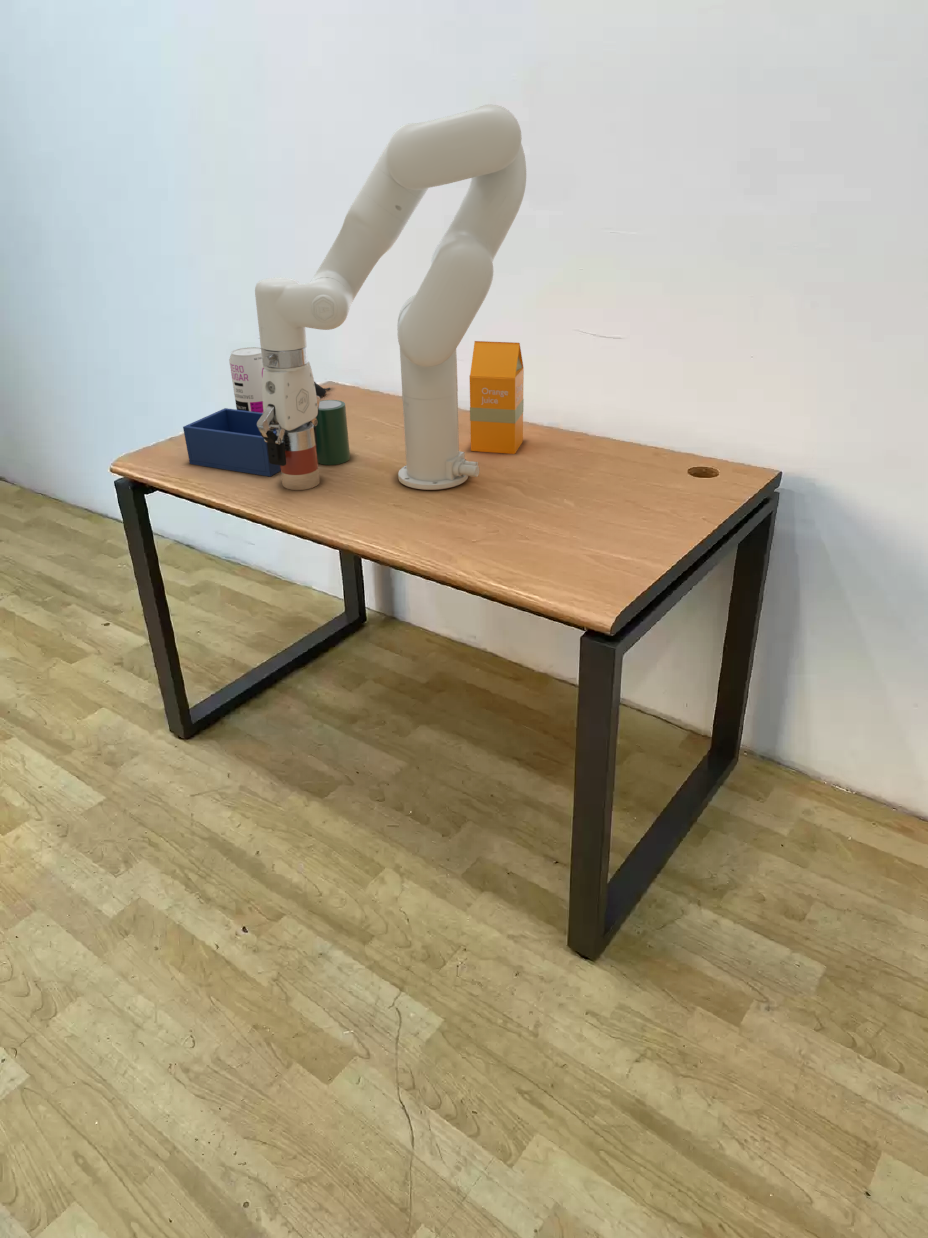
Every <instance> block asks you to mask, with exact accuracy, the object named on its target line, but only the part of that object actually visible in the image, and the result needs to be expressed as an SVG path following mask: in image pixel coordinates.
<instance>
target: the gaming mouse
mask: <svg viewBox="0 0 928 1238" xmlns="http://www.w3.org/2000/svg"><path fill="white" fill-rule="evenodd" d="M314 383H315V390H316V395H317V396H319V397H320V398H321V397H324V396H325V394H326V393H327V391H329V390H331V387H327V388H326V387H324V388H323V387H322V386H321V385H319V384H318V383H316V381H314Z"/></svg>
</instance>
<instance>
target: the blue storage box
mask: <svg viewBox="0 0 928 1238" xmlns="http://www.w3.org/2000/svg"><path fill="white" fill-rule="evenodd" d="M262 414H263V413H259V412H251V411H244V410H237V408H236V409H234V408H228V407H224V408H222V409H219V410H218V411H215V412H213V413H211V414H208V415H206V416H204V417H202V418H200V419H197V420H195V421H193V422H191V423H188V424H186V425H184V426H182V429H183V434H184V440H185V446H186V451H187V456H188V463H189V465H194V466H200V467H206V468H213V469H220V470H227V471H233V472H239V473H245V474H251V475H258V476H263V477H269V478H270V477H272V476H274V475H276V474H278V473H279V472H281V469H280V465H275V464H270V463H269V456H268V447H267V442H265V441H264V438H263V437H262V436H261V432H260V431H259V429H258V427H257V422H258V420H259V419H260V417H261V416H262ZM273 433H274V434H275V435H276V430H275V429H274V431H273Z"/></svg>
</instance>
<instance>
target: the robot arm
mask: <svg viewBox="0 0 928 1238" xmlns="http://www.w3.org/2000/svg"><path fill="white" fill-rule="evenodd" d="M469 179H470V183H469V185H468V189H467V191H466V192H465V194H464V197H463V198H462V200H461V203H460V204H459V207H458V209H457V210H456V212H455V215H454V217H453V218H452V221H451V222H450V224H449V226H448V227H447V229H446V231H445V233H444V235H443V236H442V237H441V239H440V241H439V242H438V244H437V245H436V247H434V250H433V252H432V255H431V260H430V266H429V269H428V271H427V272H426V274H425V277H424V279H423V280H422V282H421V284H420V286H419V288H418V290H417V291H416V293H415V294H414V295H412V296H411V297H409V298H408V299H407V300H406V301H405V302H404V303H403V305H402V306H401V308H400V310H399V313H398V317H397V340H398V341H397V342H398V345H399V359H400V360H399V361H400V375H401V377H400V378H401V396H402V397H401V398H402V413H403V414H402V415H403V430H404V431H403V432H404V433H403V434H404V448H405V465H404V466H402V467H401V468H400V469H399V470H398V473H397V477H398V481H399V483H401V484H402V485H404V486H405V487H408V488H412V489H416V490H425V491H426V490H427V491H435V490H446V489H451V488H454V487H457V486H460V485H462V484H463V483H465V482H466V481H467V480H468V478H469V477H472V478H478V476H479V475H480V466H479V462H478V461H473V460H471V461H469V460H467V459H466V456H465V455H466V454H465V451H462V450H461V451H460V434H459V433H460V432H459V431H460V430H459V427H460V426H459V397H458V396H459V395H458V392H459V390H458V389H459V388H458V385H459V383H458V360H457V359H458V358H457V348H458V347H459V345H460V343H461V342H462V340H463V338H464V337H465V335H466V333H467V331H468V329H470V326H471V324H472V323H473V320H474V319H475V317H476V316H477V314H478V312H479V310H480V308H481V307H482V305H483V303H484V301H485V300H486V297H487V295H488V293H489V291H490V289H491V287H492V283H493V280H494V263H493V262H494V260H495V258H496V256H497V253H498V252H499V250H500V249H501V246H502V245H503V242H504V241H505V239H506V237H507V235H508V233H509V231H510V229H511V227H512V225H513V223H514V221H515V219H516V217H517V215H518V213H519V211H520V208H521V205H522V202H523V200H524V196H525V191H526V186H527V162H526V155H525V150H524V148H523V144H522V130H521V125H520V123H519V121H518V119H517V118H516V117H515V115H514V114H513V113H512V112H511V111H510V110H509V109H507V108H506V107H504V106H502V105H497V104H484V105H483V104H482V105H479V106H478V107H476V108H474V109H470V110H465V111H463V112H459V113H455V114H451V115H447V116H443V117H440V118H436V119H435V118H434V119H432V120H431V119H430V120H427V121H421V122H411V123H406V124H402V126H399V127H398V128H397V129H396V130H395V131H394V132H393V134H392V135H391V137H390V138H389V139H388V141H387V143H386V145H385V147H384V149H383V150H382V152H381V154H380V156H378V158H377V159H376V162H375V164H374V166H373V167H372V169H371V171H370V172H369V174H368V176H367V177H366V179H365V181H364V183H363V185H362V186H361V188H360V190H359V191H358V193H357V194H356V196H355V198H354V199H353V202H352V203H351V205H350V207H349V209H348V211H347V212H346V214H345V216H344V220H343V223H342V226H341V228H340V230H339V232H338V234H337V235H336V238H335V240H334V241H333V243H332V244H331V247H330V249H329V250H328V252H327V253H326V255H325V256H324V259H323V260H322V262H321V264H320V265H319V267H318V269H317V270H316V272H315V274H314V275H313V277H312V279H311V280H310V282H306V283H300V282H299V281H298V280H297V279H294V278H290V277H269V278H263V279H261V280H259V281H258V282H257V283H256V284H255V286H254V297H255V305H256V313H257V314H256V316H257V323H258V333H259V334H258V335H259V343H260V344H259V345H260V348H261V354H262V363H263V368H264V369H263V377H262V397H263V411H264V413H263V414H262V416H261V417H260V419H259V420H258V422H257V427H258V429H259V431H260V432H261V436H262V437H263V438H264V441H265V442H267V447H268V456H269V463H270V464H275V465H280V466H284V465H286V455H285V445H284V443H282V439H283V436H284V433H285V430H288V431H290V430H293V429H295V428H298V427H300V426H302V425H304V424H306V423H308V422H311V423H313V425H314V433H315V442H316V448H317V434H316V427H315V426H316V425H317V423H318V421H317V416H318V413H319V409H318V408H319V403H320V401H321V397H319V396H317V395H316V390H315V383H314V382H315V379H314V374H313V370H312V366H311V363H310V361H309V358H308V345H307V333H306V328H309V329H315V330H320V331H330V330H334V329H337V328H339V327H340V326H342V325H343V324H344V322H345V321H346V320H347V318H348V315H349V312H350V309H351V306H352V304H353V302H354V300H355V298H356V297H357V295H358V293H359V292H360V291H361V288H362V286H363V285H364V283H365V282H366V280H367V278H368V277H369V275H370V274H371V273H372V270H373V269H374V267H375V266H376V265H377V263H378V262H379V261H380V259H381V258H382V257H383V256H384V255H385V254H386V253H388V251H389V250H391V249H392V248H393V246H394V245H395V243H396V242H397V240H398V239H399V237H400V236H401V234H402V233H403V230H404V229H405V227H406V226H407V224H408V222H409V221H410V219H411V218H412V216H413V214H414V212H415V211H416V210H417V207H418V206H419V204H420V202H421V201H422V200H423V198H424V197H425V195H426V193H427V191H428V190H429V189H431V188H434V187H440V186H445V185H449V184H453V183H457V182H461V181H465V180H469ZM279 424H280V425H279ZM274 429H275V430H278V432H277V435H275V434H274V433H273V431H274Z"/></svg>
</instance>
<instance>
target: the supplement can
mask: <svg viewBox="0 0 928 1238" xmlns="http://www.w3.org/2000/svg"><path fill="white" fill-rule="evenodd" d="M230 353H231V354H230V357H229V359H228V361H229V369H230V374H231V380H232V388H233V395H234V400H235V407H236V410H244V411H251V412H259V413H264V411H263V397H262V377H263V369H264V368H263V363H262V354H261V347H260V346H259V347H258V346H257V347H255V346H251V347H240V348H236V349H233V350H232V351H231V352H230Z"/></svg>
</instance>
